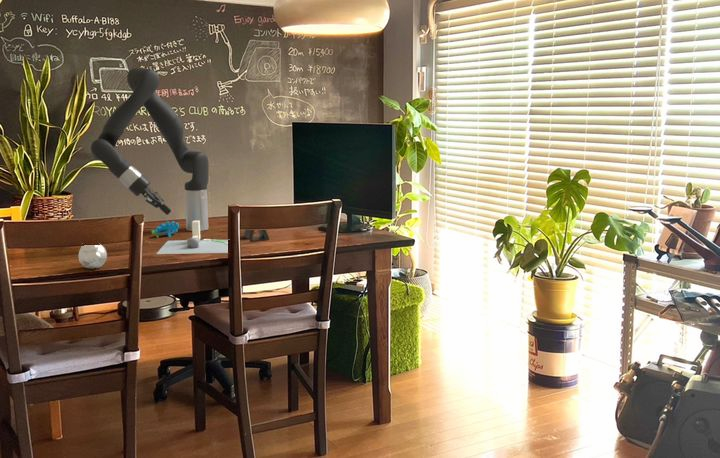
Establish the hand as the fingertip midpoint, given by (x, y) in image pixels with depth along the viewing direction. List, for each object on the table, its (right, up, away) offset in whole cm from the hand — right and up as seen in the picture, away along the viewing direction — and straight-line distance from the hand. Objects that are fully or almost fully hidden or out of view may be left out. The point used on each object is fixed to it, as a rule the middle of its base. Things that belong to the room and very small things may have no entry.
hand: (169, 212), depth 271 cm
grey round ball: (-16, -19, -35) cm, 43 cm away
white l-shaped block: (+10, -12, -1) cm, 15 cm away
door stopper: (+31, -11, +14) cm, 35 cm away
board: (+12, -14, -5) cm, 19 cm away
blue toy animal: (-5, -10, +15) cm, 19 cm away
